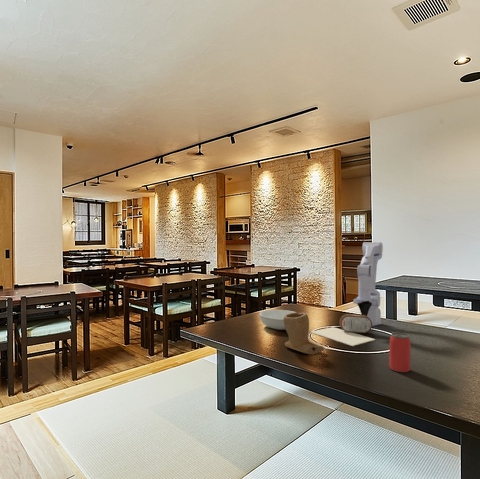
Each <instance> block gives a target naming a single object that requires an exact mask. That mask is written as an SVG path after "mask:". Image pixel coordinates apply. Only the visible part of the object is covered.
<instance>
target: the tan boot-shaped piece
mask: <svg viewBox="0 0 480 479" xmlns="http://www.w3.org/2000/svg"><path fill="white" fill-rule="evenodd" d="M293 312H294V313H290V314H286V315H285V316H284V325H285V328H286V330H285V331H286V333H287V336H288V340H287V341H286V342H284V345H285V347H287V348H289V349H292V350H294V351H297V352H301V353H303V354H307V355H316V354H319V353H321V352H323V351H324V350H325V347H324V346H322V345H319V344H316V343H315V342H312V341H310V340H309V330H310V319H309V316H308V314H307V313H306V312H299V311H293Z"/></svg>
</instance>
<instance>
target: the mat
mask: <svg viewBox="0 0 480 479" xmlns="http://www.w3.org/2000/svg"><path fill="white" fill-rule="evenodd" d="M310 334H313V335H316V336H320V337H323V338H326V339H327V340H332V341H335V342H338V343H341V344H344V345H347V346H350V347H355V346H359V345H363V344H366V343H369V342H374V341H376V339H375V338H372V337H369V336H365V335H362V334H360V333H354V332H346V331H344V330H343V329H342V328H341V329H340V328H338V327H334V326H333V327H332V326H331V327H326V328H322V329H317V330H313V331H310Z"/></svg>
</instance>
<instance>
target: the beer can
mask: <svg viewBox="0 0 480 479" xmlns="http://www.w3.org/2000/svg"><path fill="white" fill-rule="evenodd" d="M411 345H412V344H411V340H410V335H408V334H407V333H406V334H405V333H402V332H393V333H391V334H390V337H389V354H388V355H389V358H388V359H389V363H388V366H389V369H390V370H392V371H394V372H397V373H409V372H410V370H411V350H412V349H411V348H412V347H411Z"/></svg>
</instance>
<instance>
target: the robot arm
mask: <svg viewBox="0 0 480 479" xmlns="http://www.w3.org/2000/svg"><path fill="white" fill-rule="evenodd" d="M361 248H362V253H363V256H362V258H361V261H360V264H358V265H357V268H356V272H357V273H356V274H357V280H358V293H357V294H358V295H357V296H356V298H354V299H353V301H352V302H353V304H356V305H357V306H358V308H359V311H360V315H365V316H367V317H369V318H370V320H371V321H372V327H374V326H379V325H383V322H381V319H382V318H381V317H382V315H381V314H382V313H381V312H382V311H381V309H380V307H381V306H380V305H381V293H380V291H379V290H377V289H376V284H377V283H376V282H377V269H378V268H377V267H378V262H379V260H381V259H382V257H383V251H384V246H383V242H381V241H379V242H376V241H375V242H373V241H372V242H369V241H368V242H366V241H363V243H362V246H361Z"/></svg>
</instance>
